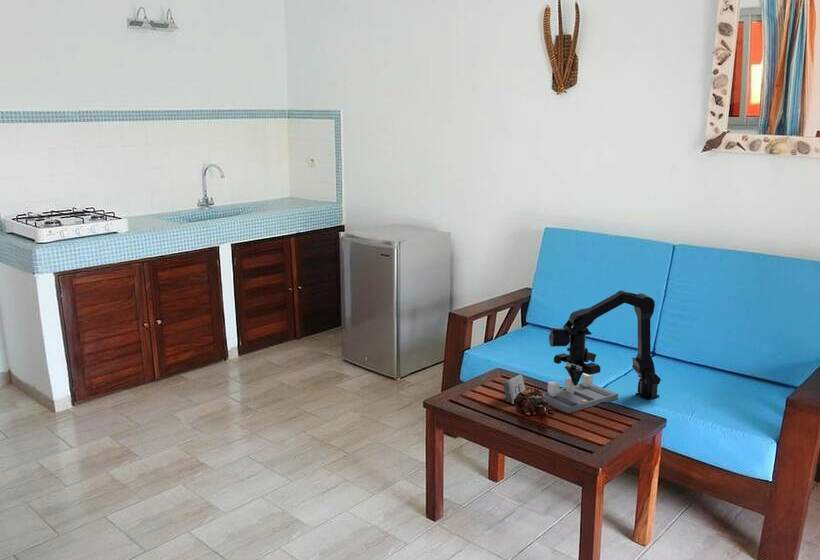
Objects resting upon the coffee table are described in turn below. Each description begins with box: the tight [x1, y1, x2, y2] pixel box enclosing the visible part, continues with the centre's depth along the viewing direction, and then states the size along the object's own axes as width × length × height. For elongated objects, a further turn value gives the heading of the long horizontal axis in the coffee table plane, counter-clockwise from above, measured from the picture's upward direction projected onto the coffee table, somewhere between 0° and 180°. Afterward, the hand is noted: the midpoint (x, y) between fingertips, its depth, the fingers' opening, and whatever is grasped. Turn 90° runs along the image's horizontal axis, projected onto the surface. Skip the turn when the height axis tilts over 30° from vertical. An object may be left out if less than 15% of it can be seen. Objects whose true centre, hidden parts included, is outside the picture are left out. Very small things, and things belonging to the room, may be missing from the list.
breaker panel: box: [541, 373, 619, 414], centre depth 269 cm, size 16×26×7 cm, turn 123°
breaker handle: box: [564, 376, 576, 394], centre depth 272 cm, size 3×3×6 cm
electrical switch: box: [502, 374, 526, 405], centre depth 267 cm, size 9×5×9 cm, turn 141°
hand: (575, 385), depth 269 cm, fingers closed
